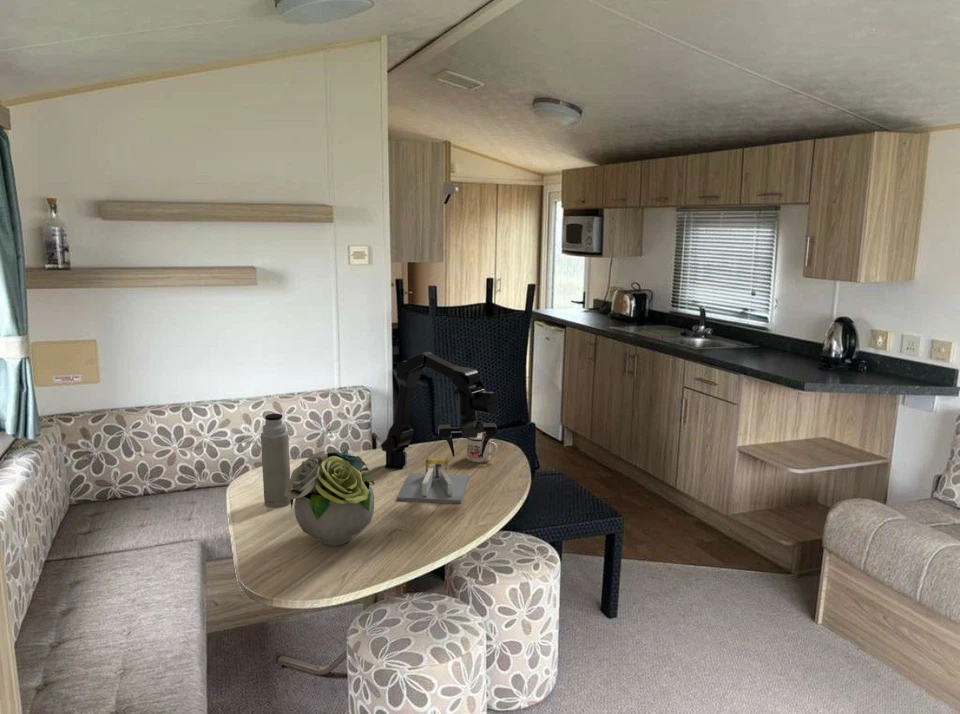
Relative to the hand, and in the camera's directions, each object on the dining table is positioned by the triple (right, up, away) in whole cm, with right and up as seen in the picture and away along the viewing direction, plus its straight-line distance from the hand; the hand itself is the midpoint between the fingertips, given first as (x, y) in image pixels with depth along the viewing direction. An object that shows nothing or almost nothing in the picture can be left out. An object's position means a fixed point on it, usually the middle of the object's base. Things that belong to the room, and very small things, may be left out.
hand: (467, 455), depth 222 cm
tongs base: (-11, -11, +2) cm, 16 cm away
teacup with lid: (+5, -6, +29) cm, 30 cm away
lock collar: (-11, -8, +9) cm, 16 cm away
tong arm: (-7, -10, +1) cm, 12 cm away
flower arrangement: (-35, -18, -34) cm, 52 cm away
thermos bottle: (-58, -13, -10) cm, 61 cm away
